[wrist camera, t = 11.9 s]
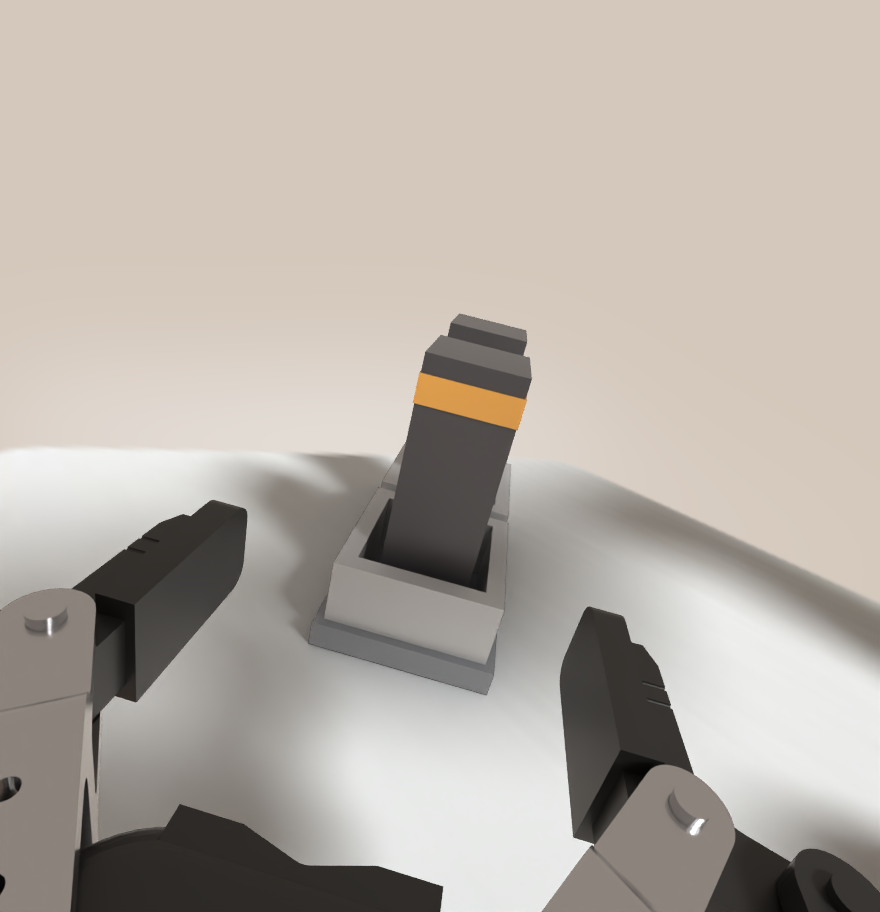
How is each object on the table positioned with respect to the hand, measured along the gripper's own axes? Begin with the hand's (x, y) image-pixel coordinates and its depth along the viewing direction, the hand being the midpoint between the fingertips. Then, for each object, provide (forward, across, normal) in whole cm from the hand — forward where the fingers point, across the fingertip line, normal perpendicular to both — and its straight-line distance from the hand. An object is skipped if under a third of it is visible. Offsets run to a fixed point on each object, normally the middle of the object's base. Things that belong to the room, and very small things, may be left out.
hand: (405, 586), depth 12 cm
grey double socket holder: (+15, 0, +10) cm, 18 cm away
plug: (+11, 0, +9) cm, 14 cm away
